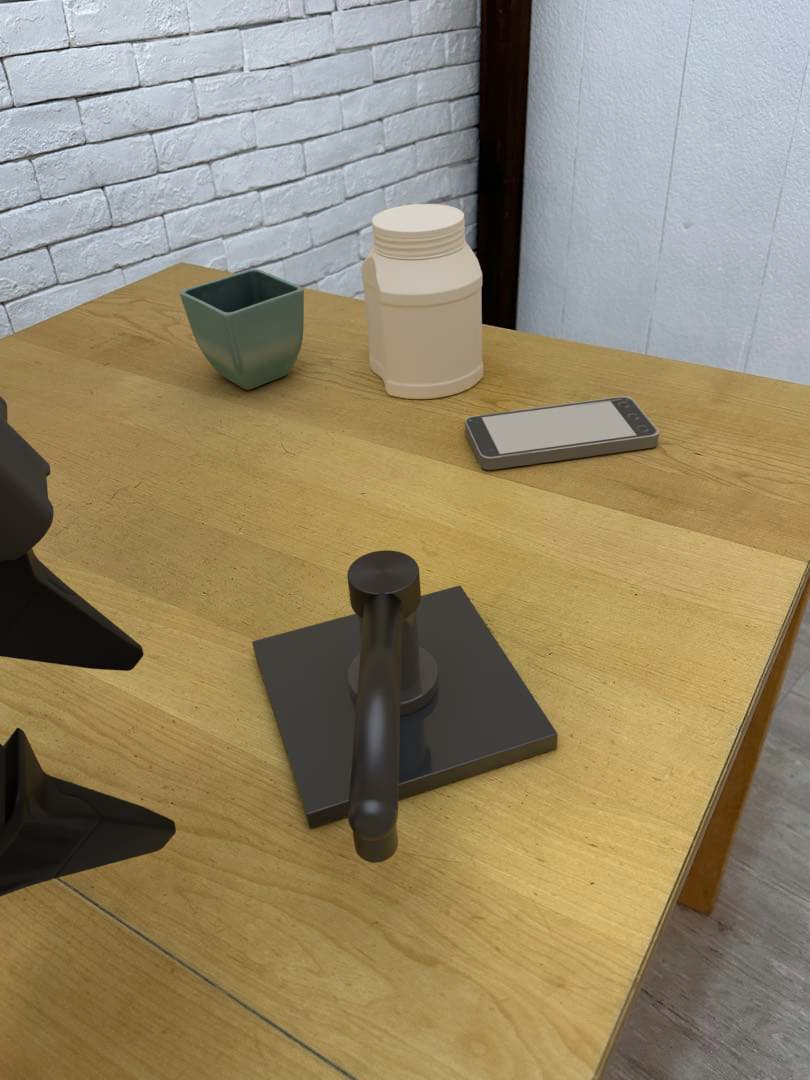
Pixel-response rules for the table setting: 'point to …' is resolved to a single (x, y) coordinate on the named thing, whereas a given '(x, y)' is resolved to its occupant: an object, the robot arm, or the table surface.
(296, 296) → the flower pot
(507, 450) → the smartphone
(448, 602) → the black flat block
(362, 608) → the spout
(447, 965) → the table surface
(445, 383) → the jar
